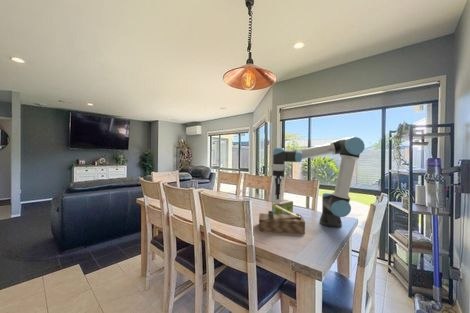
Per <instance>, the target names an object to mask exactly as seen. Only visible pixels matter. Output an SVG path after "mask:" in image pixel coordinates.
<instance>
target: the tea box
mask: <svg viewBox="0 0 470 313" xmlns="http://www.w3.org/2000/svg"><path fill="white" fill-rule="evenodd" d="M273 202H274V203H275V200H273V201H272V202H271V204H272V203H273ZM276 205H277V206H279V207H281V208H283V209H285V210H287V211H290V212H292V213H294V211H293V210H294V201H293V200H289V199H284V198H283V199H280V202H279V204H276ZM271 211H273V214H287V215H290V214H288V213H286V212H284V211H282V210H280V209H278V208H276V207H274V206H272V205H271Z"/></svg>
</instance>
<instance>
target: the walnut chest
mask: <svg viewBox="0 0 470 313" xmlns="http://www.w3.org/2000/svg"><path fill="white" fill-rule="evenodd" d="M295 214H296V215H299V216H300V217H298V218H297V217H295V216H292V215H287V214H273V211H272V210H268V212H267V213H259V214H258V215H259V216H258V217H259V218H258V222H259V223H258V228H259V229H258V231H259V232H270V233H273V232H274V233H290V234H291V233H292V234H306V221H305V218H304V217H303V215H301V214H299V213H295Z"/></svg>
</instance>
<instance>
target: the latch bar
mask: <svg viewBox="0 0 470 313" xmlns="http://www.w3.org/2000/svg"><path fill="white" fill-rule="evenodd" d="M272 202H273V201H272ZM272 202H271V207H272V206H274V207H276V208H278V209H280V210H282V211H284V212H286V213H288V214H290V215H292V216H295V217H297V218H298V217H300V216H299V215H300V214H299V215H296V214H297V213H295V212H293V213H292V212H290V211H287V210H285V209H283V208H281V207H279V206H277V205H276V204H275V203H274V202H273V203H272Z"/></svg>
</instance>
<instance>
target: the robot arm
mask: <svg viewBox="0 0 470 313" xmlns="http://www.w3.org/2000/svg"><path fill="white" fill-rule="evenodd" d="M364 150H365V143H364V141H363V140H362V139H361V138H360V137H357V136H349V137H344V138H341V139H338V140H333V141H330V142H329V143H326V144H322V145H315V146H310V147H305V148H300V149H295V150H285V148H284V147H283V148H282V147H274V148H273V150H272V151H273V152H272V165H271V166H272V176H273V177H275V178H274V185H275V190H274V191H275V192H274V196H275V199H274V201H275V204H279V202H280V200H281V199H280V195H281V182H282V178H281V177H283V176H284V175H285V174H284V173H285V172H284V170H285V163H286V162H287V163H301V162H302V160H303V159H304V160H305V159H310V158H315V157H320V156H326V155H327V156H328V155H333V156H334V155H339V156H340V158H341V159H340V164H339V168H338V172H337V173H338V174H337V177H336V181H335V182H336V183H335V188H334V192H324V193H322V196H321V197H322V198H321V200H322V203H321V204H322V205H321V211H322V212H321V215H320V218H319V224H320V225H322V226H325V227H331V228H340V227H342V226H343V222H342V219H341V218H345V217H348V216H349V214H350V213H351V212H352V206H351V204H350V200H351V197H350V196H349V193H350V188H351V183H352V179H353V174H354V170H355V166H356V161H357V160H359V159H360V155H361V154H362V153H363V152H364Z"/></svg>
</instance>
